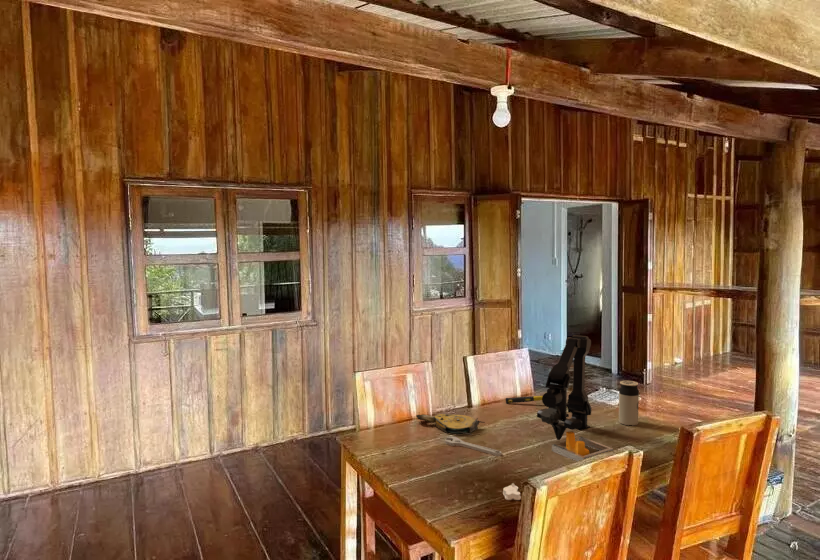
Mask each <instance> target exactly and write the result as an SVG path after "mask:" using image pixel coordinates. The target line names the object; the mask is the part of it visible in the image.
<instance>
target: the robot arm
mask: <svg viewBox="0 0 820 560" xmlns="http://www.w3.org/2000/svg"><path fill="white" fill-rule="evenodd" d="M591 346H592V340H591V339H590V338H589V336H588V335H587V336H586V335H577V334H573V335H572V336H571V337H567V338H566V340H565V346H564V348H563V350H562V352H561V355H560V358H559V360H558V362H557V363H556V364H554V365H553V366H552V368H551V370H550V371H549V372H548V376H547V379H546V383H545V388H546V392H544V393H543V394H542V396H543V397H542V400H541V401H542V404H543V406H545V408H543V409H538V411H537V412H536V417H537V418H539V419H540V420H541V421H542V422H543V423H546V424H548V425H551V426H552V428H553V431H554V435H555V437H556V440H557V441H560V440H561V439H562V437H563V435H564V434H565V432H566V430H567V429H568V430H579V431H581V430H586V429H589V428H591V426H590V425H588V416H591V415H592V410H593V409H592V407H591V404H590V401H589V395H588V394H587V392H586V391H585V382H586V381H585V380H586V379H585V378H586V356H587V355H588V353H589V352H590V349H591ZM572 363H573V370H572V371H573V374H572V375H573V376H572V377H573V378H572V377H571V372H570V369H571V366H572ZM571 378H572V390H571V392H570V393H569V394H568V395H567V393H568V390H567V389H568V388H569V386H570V384H571V383H570V382H571ZM567 396H568V397H567ZM567 411H568V413H569V414H570V413H571V417H570V418H569V414H568V413H567Z"/></svg>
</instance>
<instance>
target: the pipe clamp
mask: <svg viewBox="0 0 820 560" xmlns="http://www.w3.org/2000/svg"><path fill="white" fill-rule="evenodd" d="M565 432H566V433H565V449H567V450H570V451H572V452H575V453H577V454H580V455H582V456H585V455H588V454H590V450H589V449H588V447H586V446H585V442H583V441H579V440H576V436H575V432H574V431H565Z"/></svg>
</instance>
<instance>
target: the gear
mask: <svg viewBox="0 0 820 560" xmlns="http://www.w3.org/2000/svg"><path fill="white" fill-rule="evenodd" d="M502 494H503V496H504V499H505V500H506V501H511V500H515V501H520V500H521V499H522V497H521V492H520V491H519V487H518V486H517V485H515V483H514V482H513V483H511V484H510V485H508V486H505V487H503V491H502Z"/></svg>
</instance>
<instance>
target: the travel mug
mask: <svg viewBox="0 0 820 560" xmlns="http://www.w3.org/2000/svg"><path fill="white" fill-rule="evenodd" d="M619 384H620V387H619V390H618V423H620V424H621V425H626V426H629V425H632V426H637V425H638V424H639V406H640V405H639V398H640V397H639V396H640V395H639V394H640V390H639V388H638V385H639V382H637V381H633V380H620V381H619Z"/></svg>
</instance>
